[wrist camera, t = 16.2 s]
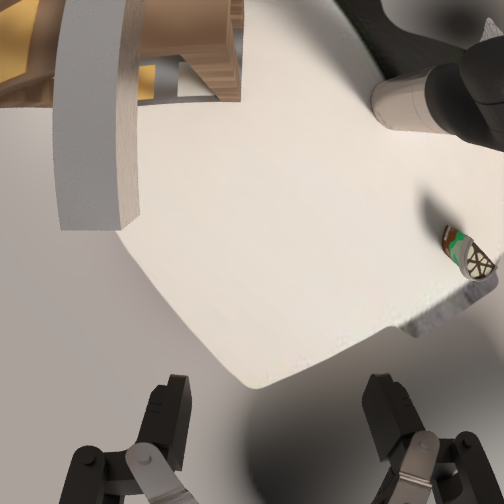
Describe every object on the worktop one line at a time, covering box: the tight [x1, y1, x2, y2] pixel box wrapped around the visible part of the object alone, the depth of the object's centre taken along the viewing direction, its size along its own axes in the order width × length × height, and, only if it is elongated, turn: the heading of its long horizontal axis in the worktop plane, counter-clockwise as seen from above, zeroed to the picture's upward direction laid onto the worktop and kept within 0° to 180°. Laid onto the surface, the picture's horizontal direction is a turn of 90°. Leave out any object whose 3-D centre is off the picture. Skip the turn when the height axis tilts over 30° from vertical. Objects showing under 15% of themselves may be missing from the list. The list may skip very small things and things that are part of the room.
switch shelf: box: [0, 0, 244, 108], centre depth 25 cm, size 16×24×32 cm, turn 88°
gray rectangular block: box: [53, 0, 146, 230], centre depth 11 cm, size 24×4×3 cm, turn 178°
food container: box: [442, 225, 498, 281], centre depth 48 cm, size 12×6×10 cm, turn 60°
